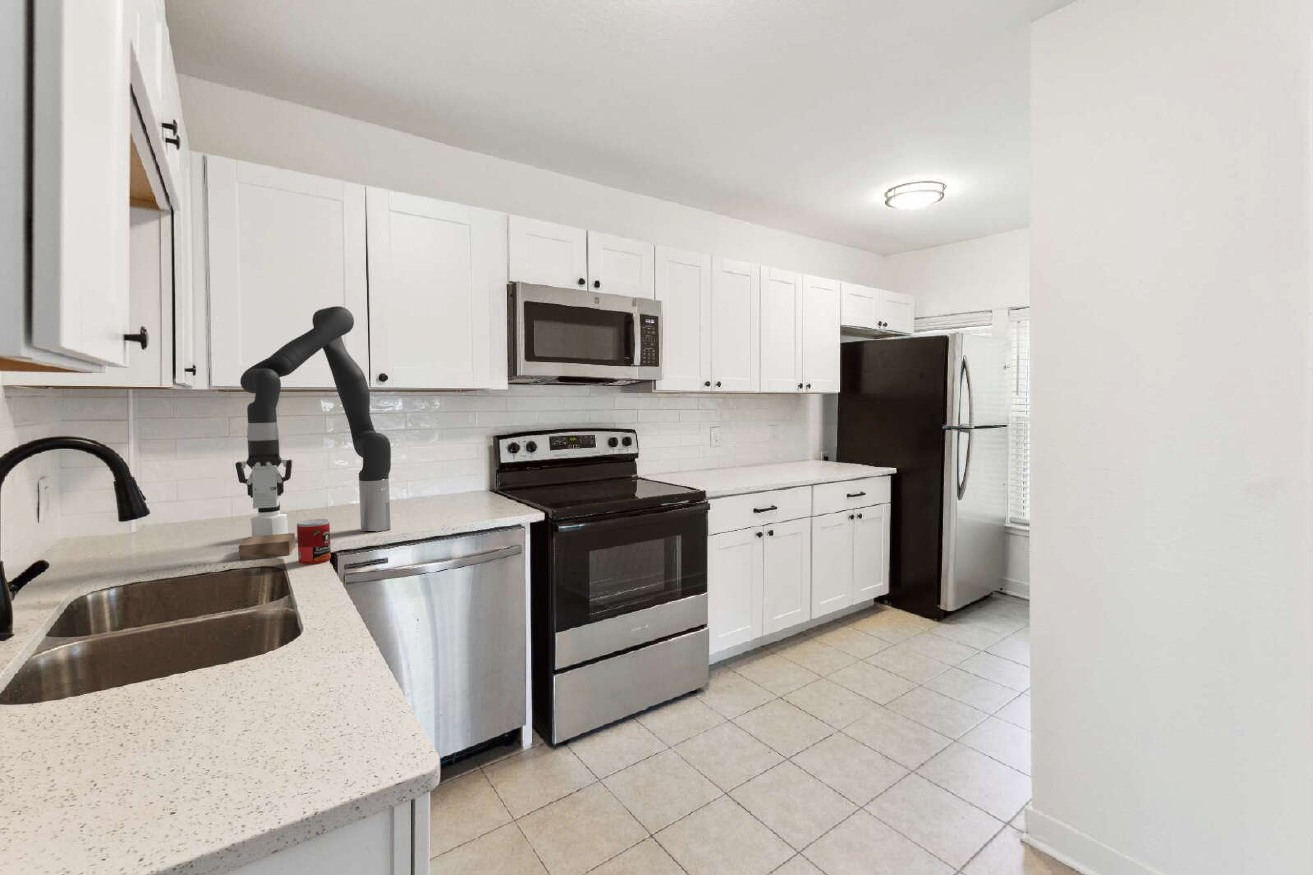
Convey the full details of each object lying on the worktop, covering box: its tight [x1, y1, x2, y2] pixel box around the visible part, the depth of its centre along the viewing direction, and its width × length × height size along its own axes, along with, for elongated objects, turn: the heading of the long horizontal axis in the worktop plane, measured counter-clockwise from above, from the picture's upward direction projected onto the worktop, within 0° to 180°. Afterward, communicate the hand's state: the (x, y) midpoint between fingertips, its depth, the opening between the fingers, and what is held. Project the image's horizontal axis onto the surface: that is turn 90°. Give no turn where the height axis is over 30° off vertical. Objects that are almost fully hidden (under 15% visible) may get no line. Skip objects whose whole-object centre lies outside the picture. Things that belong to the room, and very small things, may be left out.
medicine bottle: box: [250, 501, 289, 537], centre depth 194 cm, size 7×7×12 cm
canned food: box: [296, 518, 332, 566], centre depth 164 cm, size 8×8×11 cm
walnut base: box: [238, 532, 296, 561], centre depth 174 cm, size 12×12×4 cm
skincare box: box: [251, 465, 280, 509], centre depth 173 cm, size 6×4×12 cm
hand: (266, 496), depth 173 cm, fingers closed on skincare box, 6 cm apart
